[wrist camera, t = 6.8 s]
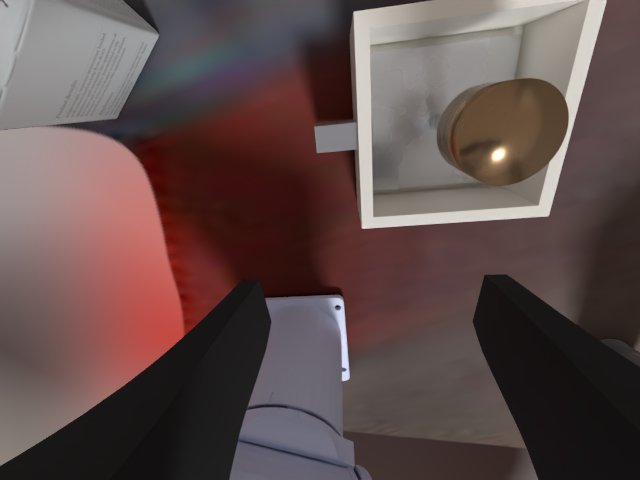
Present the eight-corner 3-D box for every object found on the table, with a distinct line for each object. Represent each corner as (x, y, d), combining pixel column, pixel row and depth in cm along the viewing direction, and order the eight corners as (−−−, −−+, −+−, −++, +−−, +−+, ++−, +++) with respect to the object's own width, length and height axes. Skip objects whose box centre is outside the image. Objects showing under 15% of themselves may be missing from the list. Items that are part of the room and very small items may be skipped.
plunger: (491, 178, 17) (599, 231, 10) (372, 187, 18) (395, 244, 11) (514, 36, 14) (694, -32, 7) (369, 54, 15) (398, 10, 8)
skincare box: (56, -65, 14) (-200, -216, 7) (164, 36, 15) (34, -13, 9) (20, 45, 16) (-202, 5, 9) (117, 123, 18) (-15, 136, 11)
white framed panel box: (501, 190, 18) (548, 216, 14) (327, 204, 19) (324, 231, 15) (534, 11, 14) (613, -26, 10) (312, 41, 15) (302, 18, 11)
